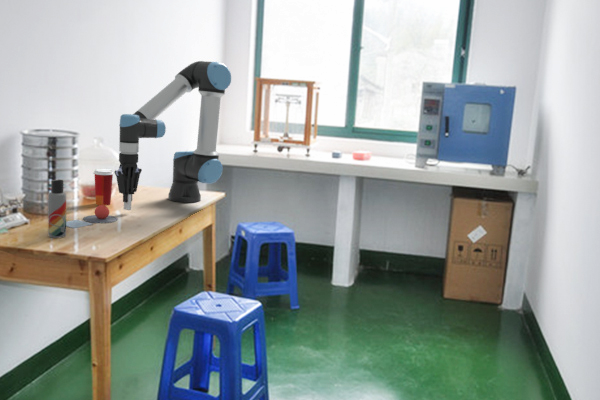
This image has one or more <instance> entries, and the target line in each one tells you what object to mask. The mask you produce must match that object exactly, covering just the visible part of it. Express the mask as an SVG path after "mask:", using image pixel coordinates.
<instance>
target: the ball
mask: <svg viewBox="0 0 600 400" xmlns="http://www.w3.org/2000/svg"><path fill="white" fill-rule="evenodd" d="M94 215H96V217H97V218H99V219H105V218H107V217H108V215H110V209H109V207H108V206H107V205H106V206H104V205H97V206H96V208H95V209H94Z"/></svg>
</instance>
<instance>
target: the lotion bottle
mask: <svg viewBox="0 0 600 400" xmlns="http://www.w3.org/2000/svg"><path fill="white" fill-rule="evenodd" d="M50 191H51V192H49V193H48V197H47V198H48V203H47V204H48V205H47V206H48V208H47V209H48V211H47V213H48V215H47V216H48V217H47V218H48V219H47V220H48V222H47V224H48V227H47V228H48V229H47V230H48V237H49V238H53V239H56V238H57V239H61V238H65V237H66V236H67V226H66V222H67V193H66V192H64V180H63V179H55V180H51V190H50Z"/></svg>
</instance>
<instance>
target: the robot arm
mask: <svg viewBox="0 0 600 400" xmlns="http://www.w3.org/2000/svg"><path fill="white" fill-rule="evenodd" d="M231 83H232V73H231V71H230V69H229V68H228V66H227V65H225V63H222V62H218V61H203V60H199V61H194V62H192V63H191V64H188V65H187V66H186V67H184V68H183V69H182V70H180V71H179V72H178V73H177V74H176V75H175V76H174V79H173V80H171V82H170V83H168V85H166V86H165V87H164V88H163V89H161V90H160V91H159V92H158V93H157V94H155V95H154V96H153V97H152V98H151V99H149V100H148V101H147V102H146V103H145V104H144V105H142V106H141V107H140V108H139V109H138V110H136V111H135V112H133V114H131V113H124V114H121V115H120V119H119V144H118V145H119V149H118V150H119V153H118V154H119V155H118V162H119V167H118V169H117V170H116V169H115V170H114V172H113V173H114V174H115V176H116V183H117V187H118V188H117V189H118V192H119V193H120V194H122V195H123V196H122V202H123V210H126V211H131V210H132V202H133V195H135V193H137V189H138V184H139V181H140V176H141V173H142V168H139V167H138V163H139V154H138V153H139V149H140V147H139V146H140V145H139V142H140V139H157V138H158V139H161V138H163V137H164V136H165V134H166V131H167V130H166V129H167V128H166V124H165V122H164V121H163V120H161V119H156V118H158V117H159V116H160V115H161V114H163V113H164V111H166V110H167V109H168V108H170V107H171V106H172V105H173V104H175V102H176V101H178V100H179V99H180V98H181V97H183V95H185V94H186V93H191V92H192V91H193V90H195V89H197V88H198V93H199V94H200V95H201V96H200V108H199V119H198V121H199V122H198V132H197V142H196V149H195V150H193V151H191V150H190V151H188V150H187V151H186V150H185V151H176V152H174V153H173V159H172V161H173V162H172V163H173V164H172V183H171V186H170V190H169V192H168V197H167V198H168V200H169V201H171V202H176V203H177V202H178V203H196V202H200V201H201V197H202V194H201V192H200V188H199V185H198V184H199V183H201V184H207V185H210V184H214V183H216V182H218V180H220V178H221V176H222V174H223V172H224V171H223V169H224V168H223V163H222V162H221V161H220V160H219V158H220V155H219V153H218V152H217V142H218V129H219V119H220V110H221V109H220V108H221V99H222V97H223V96H224V95H225V92H226V90H227V89H228V88H229V86H230V85H231Z"/></svg>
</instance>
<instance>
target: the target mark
mask: <svg viewBox="0 0 600 400" xmlns="http://www.w3.org/2000/svg"><path fill="white" fill-rule="evenodd" d="M118 220H119V219H118V217H116V216H113V215H110V214H109V215H108V217H107V218H105V219H99V218H97V217H96V215H95V214H91V215H87V216H84V217H83V218H82V221H84V222H88V223H92V224H111V223H114V222H117V221H118Z"/></svg>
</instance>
